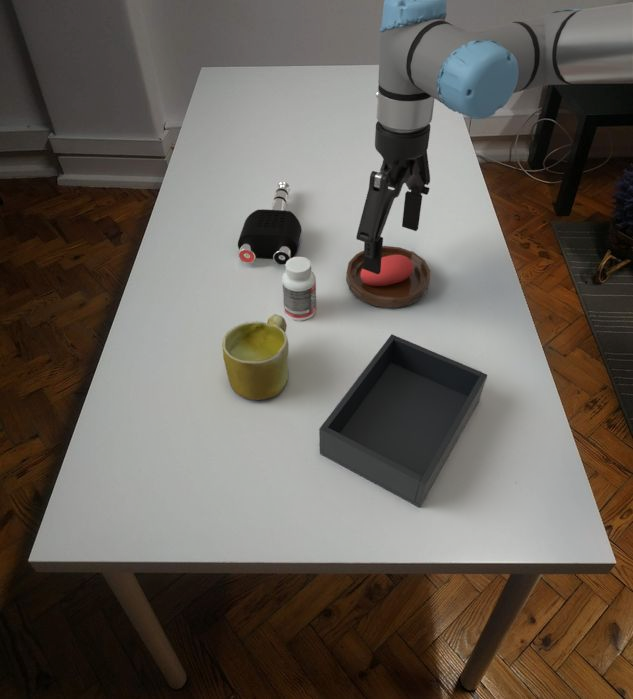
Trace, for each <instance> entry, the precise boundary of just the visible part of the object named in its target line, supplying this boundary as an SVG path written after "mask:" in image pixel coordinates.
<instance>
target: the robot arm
mask: <svg viewBox="0 0 633 699" xmlns="http://www.w3.org/2000/svg"><path fill="white" fill-rule="evenodd" d="M446 17H447V0H384V1H383V8H382V18H381V26H380V27H379V32H380V36H379V57H378V58H379V59H378V81H377V83H378V87H377V88H378V89H377V91H376V93H375V97H376V99H377V104H376V120H377V121H376V123H375V132H374V149H375V150H376V151H377V152H378V153H379V155H380V156H381V158H382V164H381V167H380V169H379V171H375V170H372V171H371V173H370V175H369V183H368V190H367V194H366V197H365V202H364V205H363V209H362V213H361V217H360V220H359V225H358V229H357V232H356V240H357V241H361V242H363V244H364V245H363V251H364V262H363V269H365V270H367V271H370V272H373V273H376V274H379V273H380V272H381V259H382V246H384V237H383V236H382V233H383V230H384V228H385V225H386V222H387V220H388V217H389V215H390V211H391V209H392V206H393V203H394V201H395V199H396V198H398V197H399V196H400V195H401V192H402V188H403V186H404V185H406V187H407V189H408V190H407V191H406V192H405V194H404V201H403V202H404V203H403V212H402V220H401V222H402V223H401V227H402V228H405V229H408V230H411V231H414V232H417V231H418V230H419V226H420V218H421V210H422V201H423V195H425V196H427V195H428V194H429V192H430V187H428V186H429V185H430V183H431V173H430V165H429V157H428V148H429V142H430V136H431V123H432V121H433V115H434V107H435V106H434V105H435V100H436V101H438V102H440V103H441V104H443V105H444V106H445V107H446V108H447V109H449V110H451V111H453V112H454V113H456V112H457V113H458V114H460V115H463V116H466V117H468V118H470V119H473V120H483V119H484V120H485V119H487V118H490V117H492V116H494V115H495V114H496V112H497V111H498V110H499V109H503V108H504V107H505V106H506V105H507V103H508V102H509V100H510V99H511V98H512V96H513V94H515V93H516V94H517V93H519V92H522V91H525V90H529V89H535V88H537V87H542V86H550V85H551V86H554V85H558V86H561V85H592V84H593V85H596V84H597V85H598V84H599V85H600V84H602V85H603V84H605V85H606V84H607V85H608V84H611V85H612V84H617V85H619V84H621V85H622V84H633V1H630V2H624V3H617V4H610V5H601V6H595V7H588V8H584V9H583V8H565V9H561V10H555V11H553V12H550V13H547V14H542V15H538V16H534V17H531V18H530V17H529V18H527V19H526V18H525V19H523V20H518V21H512V22H507V23H502V24H498V25H493V26H489V27H485V28H480V29H474V30H465V29H463V28H461V27H459V26H456V25H454V24H452V23H451V22H448V21H446ZM425 185H426V186H425ZM391 188H392V189H391Z"/></svg>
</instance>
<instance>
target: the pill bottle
mask: <svg viewBox="0 0 633 699" xmlns="http://www.w3.org/2000/svg"><path fill="white" fill-rule="evenodd" d="M281 285H282V288H281V289H282V299H283V311H284V314H285V315H286V316H287V318H289V319H291V320H294V321H298V322H299V321H306V320H309V319H311V318H312V317H313V316H314V315H315V314H316V311H317V278H316V275H315V273H314V271H312V263H311V261H310V259H308V258H307V257H305V256H294V257H293V258H291V259H289V260H288V261H287V262H286V265H285V271H284V272H283V274H282V277H281Z"/></svg>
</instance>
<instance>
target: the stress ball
mask: <svg viewBox="0 0 633 699" xmlns="http://www.w3.org/2000/svg"><path fill="white" fill-rule="evenodd" d="M412 272H413V263H412V261H411V260H410V259H409V258H408V257H406V256H403V255H390V256H385V257H382V259H381V272H380V273H379V274H376V273H373V272H370V271H367V270H365V269H362V271H361V280H362V281H363V282H364V283H365V284H367V285H370V286H386V285H391V284H395V283H398V282H401V281H403V280H405V279H407V278H408V277H409V276H410V275H411V274H412Z"/></svg>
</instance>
